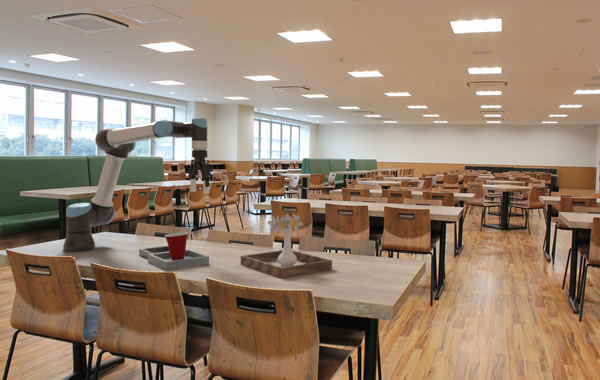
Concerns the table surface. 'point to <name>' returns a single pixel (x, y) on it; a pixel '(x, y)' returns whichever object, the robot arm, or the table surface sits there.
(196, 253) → the tray
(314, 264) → the frame
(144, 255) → the square collar
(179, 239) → the plastic cup
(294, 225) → the flower vase
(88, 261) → the table surface
